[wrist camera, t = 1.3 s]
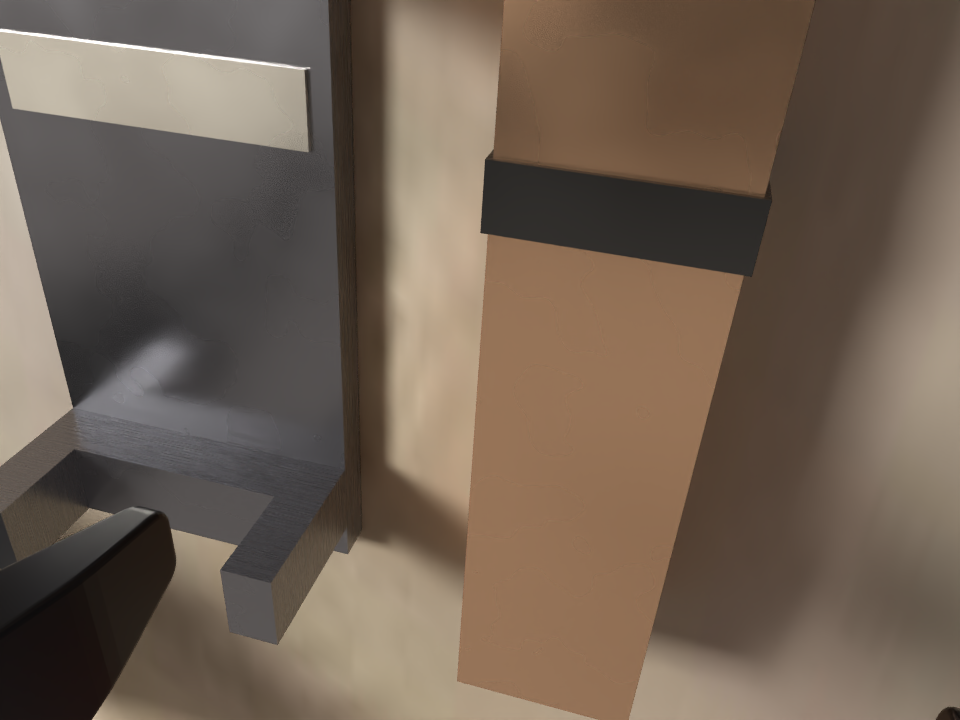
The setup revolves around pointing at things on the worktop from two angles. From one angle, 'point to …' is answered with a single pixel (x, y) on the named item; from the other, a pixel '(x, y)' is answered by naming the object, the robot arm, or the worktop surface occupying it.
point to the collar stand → (192, 278)
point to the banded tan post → (608, 318)
